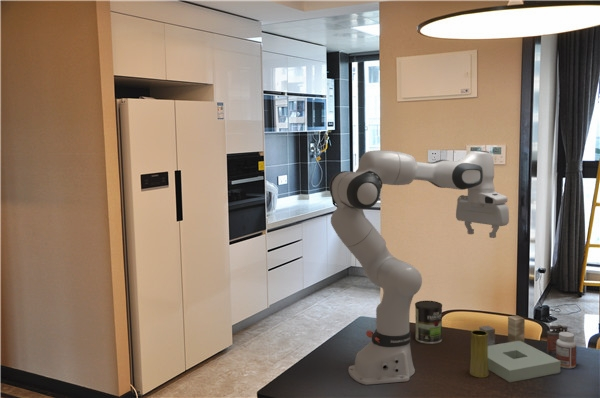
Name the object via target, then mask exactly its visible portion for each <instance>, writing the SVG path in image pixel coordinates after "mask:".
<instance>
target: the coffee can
mask: <svg viewBox="0 0 600 398" xmlns="http://www.w3.org/2000/svg"><path fill="white" fill-rule="evenodd" d="M414 306H415V340H416V341H417V342H419V343H421V344H427V345H430V344H431V345H435V344H439V343H441V342H442V341H443V304H442V303H441V302H439V301H435V300H419V301H416V302H415V303H414Z"/></svg>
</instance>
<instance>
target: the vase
mask: <svg viewBox="0 0 600 398" xmlns="http://www.w3.org/2000/svg"><path fill="white" fill-rule="evenodd" d="M488 346H489V345H488V333H487V332H486V331H483V330H479V329H474V330H472V331H470V363H469V364H470V365H469V374H470V375H471V376H473V377H475V378H480V379H481V378H487V377H488V376H489V375H490V372H489V369H488Z"/></svg>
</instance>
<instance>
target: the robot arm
mask: <svg viewBox="0 0 600 398" xmlns="http://www.w3.org/2000/svg"><path fill="white" fill-rule="evenodd" d="M494 163H495V162H494V157H493V155H492V153H491V152H489V151H486V150H478V149H473V150H470V151H469V152H468V153H467V154H466V155H465V156H464V157H462V158H461V159H458V160H447V159H439V160H436V161H434V162H421V161H417V160H416V159H415V157H414V156H413V155H411V154H408V153H405V152H402V151H397V150H384V149H383V150H382V149H381V150H368V151H366V152H364V153H363V154H362V156H361V157H360V159H359V163H358V168H357V169H356V170H355V171H349V170H343V171H340V172H337V173H335V174H334V175H333V176H332V177H331V178H330V181H329V185H328V188H329V193H330V195H331V201H332V204H333V206H334V207H336V209H335V210H334V211H333V212H332V213H331V217H330V224H331V226H332V228H333V230H334V231H335V232H334V233H336V235H337V236H338V238H339V239H340V241H341V242H342V244H344V246H345V247H346V248H347V249H348V250H349V252H350V253H351V254H352V255H353V256H354V257H355V258H356V260H357V261H358V263H359V264H360V265H361V267H362V268H363V271H364V273H365V276H366V277H367V278H368V280H370V282H371V283H372V284H374V285H375V286H377V287H379V288H381V289H382V292H383V293H382V297H381V301H380V303H378V305H377V306H376V309H375V315H376V316H375V318H376V321H375V322H376V324H375V325H376V329H375V331H374V332H373V331H371V330H367V331H366V336H367V337H368V338H370V339H371V341H369V343H367V345H365V346H364V347H363V348H362V349H361V350H358V352H357V353H356V356H355V358H354V359H355V360H354V364H353V365H350V366H348V369H347V370H348V371H347V373H348V375H350V377H351V378H352V379H353V380H354V381H356V382H357V383H360V384H361V385H367V386H369V385H377V384H389V383H402V382H409V380H410V378H411V377H412V376H413V375H414V374H415V372H416V369H415V367H414V363H413V358H412V351H411V350H412V349H411V344H412V334H411V333H412V332H411V329H410V309H411V304H412V301H413V298H414V296H415V295H416V294H417V293H418V292H419V291H420V289H421V287H422V284H423V278H422V274H421V273H420V271H419V270H418V269H417V268H416V267H415V266H414V265H412V264H410V263H408V262H406V261H404V260H400V259H399V258H397V257H395V256H394V255H392V254H391V252H390V251H389V249H388V247H387V243H386V240H385V238H384V236H382V235H381V233H380V232H379V231H378V230H377V229H376V227H375V226H374V225H373V224H372V222H371V221H370V220H369V219H368V218H367V217H366V215H365V213H364V210H368V209H370V208H372V207H374V206H375V205H376V204H377V203H378V202H379V198H380V195H381V190H382V188H383V185H388V186H389V185H390V186H405V185H406V186H407V185H410V184H411V183H412V182H413V181H415V180H416V181H424V182H429V183H431V184H432V185H433V186H435V187H436V188H437V187H438V188H441V189H452V190H461V191H463V190H467V195H464V194H461V195H459V196H458V197H457V200H456V201H457V204H456V209H455V218H456V221H459V222H460V221H461V222H464V227H466V230H467V232H466V233H467V234H468V235H474V234H475V232H474V231H475V228H472V225H471V224H472V223H474V224H475V223H476V224H480V225H481V224H483V225H490V226H491V229H492V230H491V232H489V235H488V237H489V238H491V239H494V238H497V232H498V231H499V229H500V227H504V226H507V225H508V224H509V223H510V214H509V213H510V212H509V207H508V205H507V203H508V196H507V195H504V194H501V193H499V192H498V191H495V185H494V178H495V164H494Z"/></svg>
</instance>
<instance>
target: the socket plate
mask: <svg viewBox="0 0 600 398" xmlns="http://www.w3.org/2000/svg"><path fill="white" fill-rule="evenodd" d="M560 364H561V361H559V360H557V359H556V357H553V356H552V355H549V353H546V352H544V351H541V350H539V349H538V348H535V347H534V346H531V345H529V343H528V344H527V343H526V342H525V341H524V342H522V341H514V342H508V341H507V342H505V343H504V342H503V343H502V342H501V343H498V344H493V345H488V371H490V372H492V373H494V374H495V375H496V376H498V377H500V378H502V379H503V380H505V381H506V382H508V383H513V382H519V381H523V380H524V381H525V380H530V379H535V378H540V377H544V376H549V375H554V374H560V373H561V367H560Z"/></svg>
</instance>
